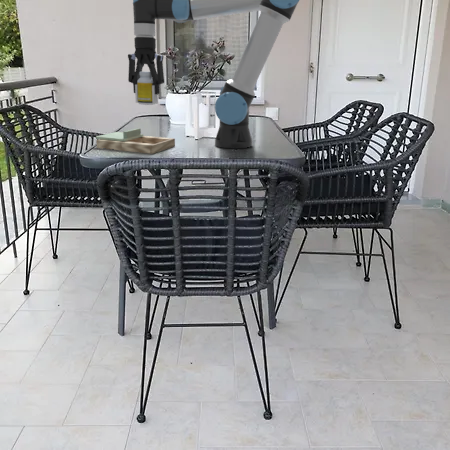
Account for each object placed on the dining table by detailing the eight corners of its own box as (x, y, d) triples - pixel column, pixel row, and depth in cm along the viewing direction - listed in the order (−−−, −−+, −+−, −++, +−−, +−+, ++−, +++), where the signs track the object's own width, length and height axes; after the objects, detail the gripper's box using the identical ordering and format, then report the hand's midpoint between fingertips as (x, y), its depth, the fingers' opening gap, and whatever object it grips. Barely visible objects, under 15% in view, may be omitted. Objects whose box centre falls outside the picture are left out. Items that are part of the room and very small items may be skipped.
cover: (143, 136, 191) (143, 128, 189) (124, 141, 178) (124, 132, 177) (116, 133, 195) (116, 125, 194) (95, 138, 182) (95, 129, 181)
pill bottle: (151, 105, 175) (151, 72, 171) (135, 104, 176) (134, 71, 172) (157, 103, 181) (157, 71, 177) (141, 103, 182) (141, 71, 178)
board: (174, 146, 189) (174, 138, 188) (152, 153, 173) (152, 145, 172) (122, 141, 197) (122, 133, 196) (96, 147, 181) (96, 139, 180)
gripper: (173, 37, 171) (174, 103, 178) (127, 37, 178) (130, 100, 185) (163, 36, 164) (164, 105, 172) (116, 36, 171) (119, 102, 179)
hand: (146, 102), depth 178 cm, fingers closed on pill bottle, 6 cm apart
